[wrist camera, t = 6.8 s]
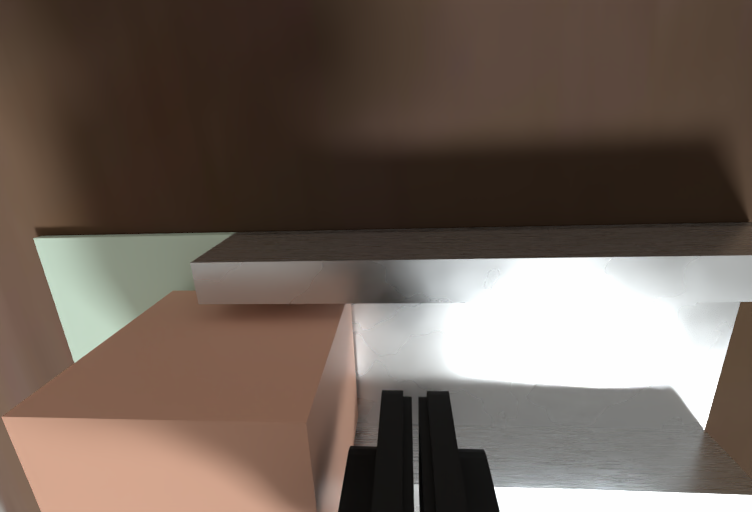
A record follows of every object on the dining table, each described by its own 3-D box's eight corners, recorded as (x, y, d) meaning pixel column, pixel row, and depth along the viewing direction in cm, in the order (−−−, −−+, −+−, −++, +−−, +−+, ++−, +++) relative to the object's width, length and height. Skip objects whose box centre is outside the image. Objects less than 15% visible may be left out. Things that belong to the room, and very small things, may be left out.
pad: (236, 232, 13) (232, 234, 13) (268, 438, 16) (266, 443, 16) (41, 236, 14) (33, 238, 14) (105, 434, 17) (99, 439, 16)
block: (350, 289, 13) (305, 422, 7) (358, 415, 14) (327, 605, 9) (172, 290, 13) (1, 416, 8) (200, 412, 15) (74, 590, 9)
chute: (750, 222, 12) (857, 253, 9) (689, 447, 15) (756, 525, 12) (236, 232, 13) (189, 262, 10) (268, 438, 16) (239, 506, 13)
